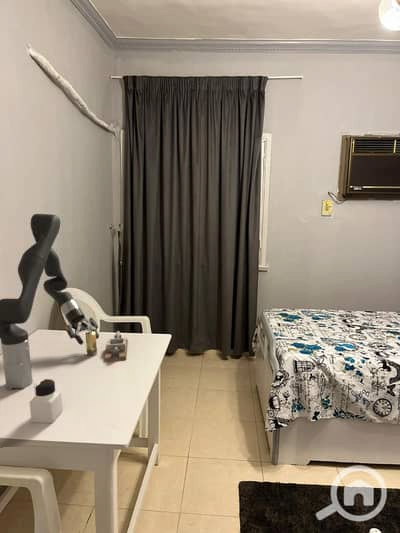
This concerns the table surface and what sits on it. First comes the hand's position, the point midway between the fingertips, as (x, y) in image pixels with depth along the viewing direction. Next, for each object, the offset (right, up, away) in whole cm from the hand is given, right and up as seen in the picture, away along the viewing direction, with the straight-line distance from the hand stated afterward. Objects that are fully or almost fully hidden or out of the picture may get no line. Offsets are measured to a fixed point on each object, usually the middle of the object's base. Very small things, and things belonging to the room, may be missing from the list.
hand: (90, 340), depth 172 cm
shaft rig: (+11, -5, +4) cm, 13 cm away
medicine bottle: (0, -15, -49) cm, 51 cm away
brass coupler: (+1, -6, +1) cm, 6 cm away
